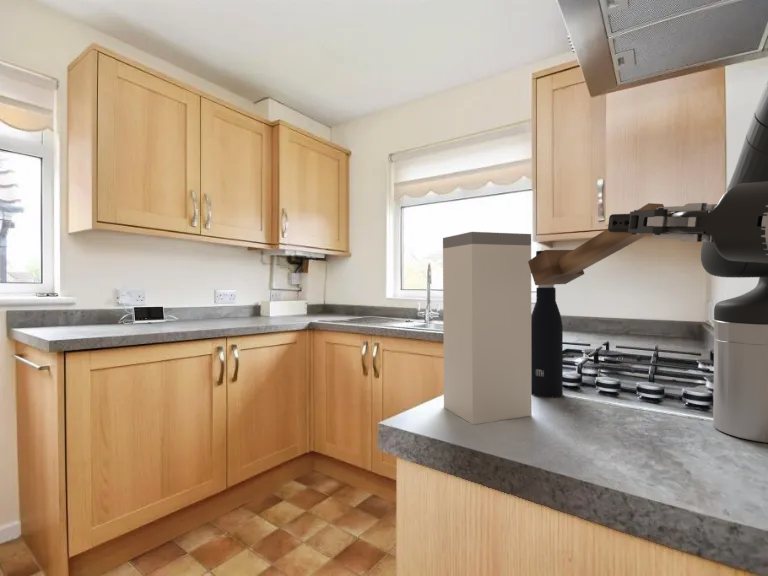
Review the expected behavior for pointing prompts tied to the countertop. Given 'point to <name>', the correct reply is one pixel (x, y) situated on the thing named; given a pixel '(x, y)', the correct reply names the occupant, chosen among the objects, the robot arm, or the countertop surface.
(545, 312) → the black bottle
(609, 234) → the mallet
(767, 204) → the robot arm
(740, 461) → the countertop surface
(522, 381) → the stand
